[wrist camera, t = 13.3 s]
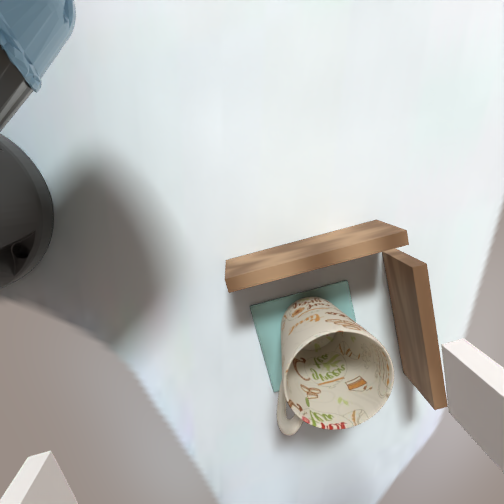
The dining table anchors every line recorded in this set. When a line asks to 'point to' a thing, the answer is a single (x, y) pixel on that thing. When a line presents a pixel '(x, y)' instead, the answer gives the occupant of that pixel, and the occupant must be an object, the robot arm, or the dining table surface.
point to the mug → (329, 368)
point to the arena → (337, 251)
